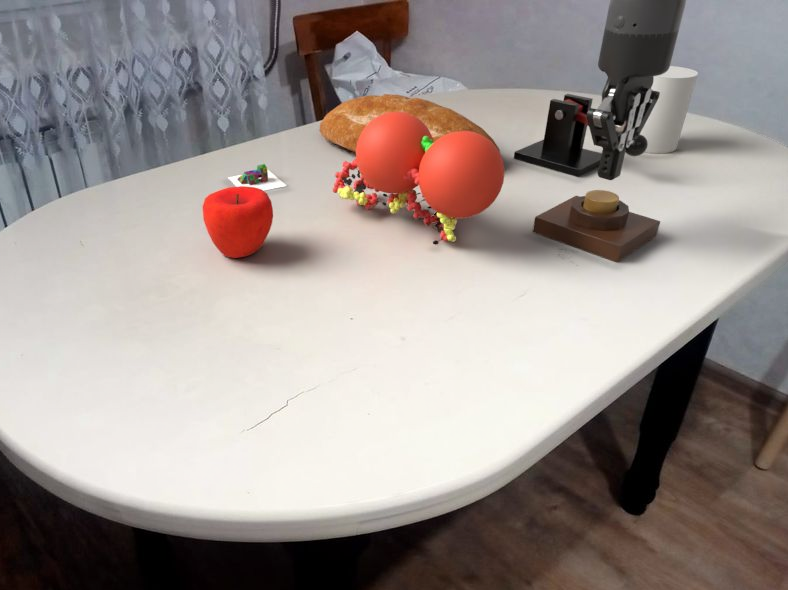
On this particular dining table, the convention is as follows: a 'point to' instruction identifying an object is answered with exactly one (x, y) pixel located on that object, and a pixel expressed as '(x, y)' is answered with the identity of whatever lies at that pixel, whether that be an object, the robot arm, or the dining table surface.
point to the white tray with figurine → (257, 179)
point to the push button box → (596, 228)
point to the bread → (358, 112)
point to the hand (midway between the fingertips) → (608, 177)
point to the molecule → (423, 171)
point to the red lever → (636, 145)
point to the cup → (669, 109)
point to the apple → (238, 219)
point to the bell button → (601, 201)
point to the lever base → (563, 140)
